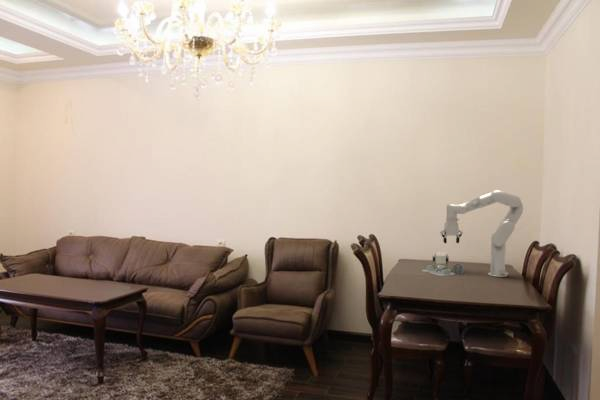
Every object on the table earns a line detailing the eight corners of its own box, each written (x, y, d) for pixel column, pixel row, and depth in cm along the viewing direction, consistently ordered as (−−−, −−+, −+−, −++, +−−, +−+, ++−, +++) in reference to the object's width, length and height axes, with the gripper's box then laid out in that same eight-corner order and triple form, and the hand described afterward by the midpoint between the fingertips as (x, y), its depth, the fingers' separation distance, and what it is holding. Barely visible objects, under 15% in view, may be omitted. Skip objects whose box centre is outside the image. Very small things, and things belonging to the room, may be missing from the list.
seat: (455, 274, 336) (455, 267, 336) (439, 275, 330) (440, 268, 330) (437, 270, 354) (437, 262, 354) (422, 271, 349) (422, 263, 349)
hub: (465, 273, 342) (465, 265, 342) (457, 273, 340) (458, 265, 340) (458, 271, 349) (458, 263, 349) (451, 272, 346) (451, 264, 346)
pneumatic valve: (448, 269, 356) (448, 254, 356) (432, 269, 359) (432, 253, 359) (447, 268, 361) (448, 253, 361) (432, 267, 364) (432, 252, 364)
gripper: (460, 220, 352) (460, 242, 352) (438, 220, 350) (438, 242, 350) (464, 220, 344) (464, 243, 344) (442, 220, 342) (442, 243, 343)
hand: (451, 243), depth 347 cm, fingers open, 9 cm apart
